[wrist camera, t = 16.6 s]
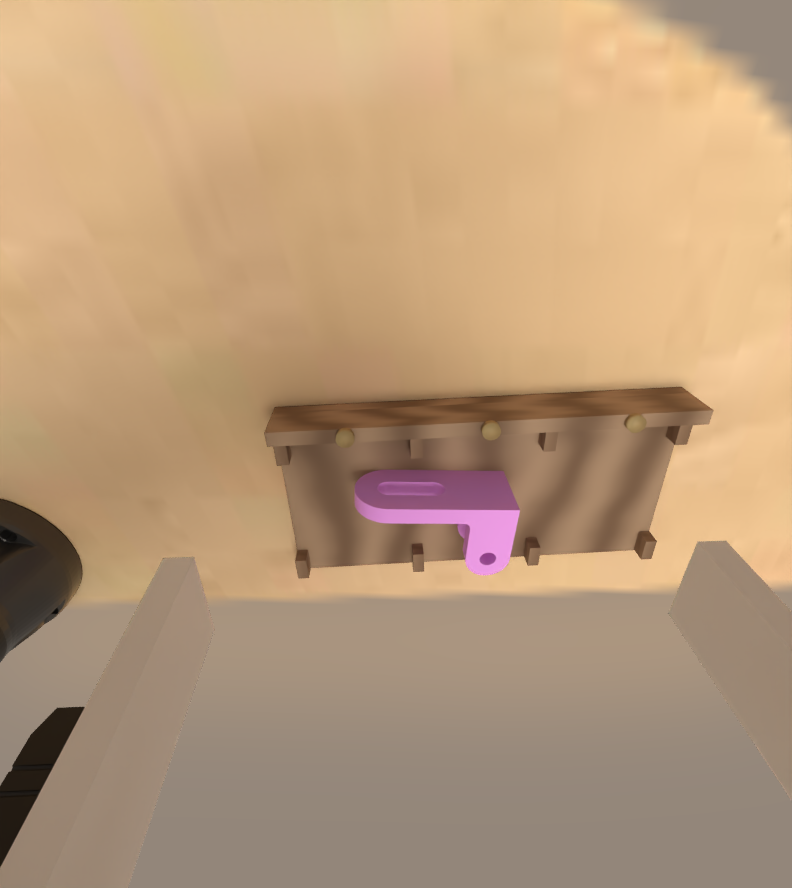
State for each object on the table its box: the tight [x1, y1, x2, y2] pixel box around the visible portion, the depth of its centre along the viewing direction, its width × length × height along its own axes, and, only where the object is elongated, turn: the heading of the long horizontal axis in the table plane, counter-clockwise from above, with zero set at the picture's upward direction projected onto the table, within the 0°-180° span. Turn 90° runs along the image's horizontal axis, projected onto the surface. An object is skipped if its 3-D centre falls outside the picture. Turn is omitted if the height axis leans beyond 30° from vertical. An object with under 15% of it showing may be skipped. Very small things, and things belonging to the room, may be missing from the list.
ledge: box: [265, 387, 713, 578], centre depth 42 cm, size 34×17×5 cm, turn 92°
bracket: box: [355, 470, 520, 575], centre depth 42 cm, size 13×6×7 cm
